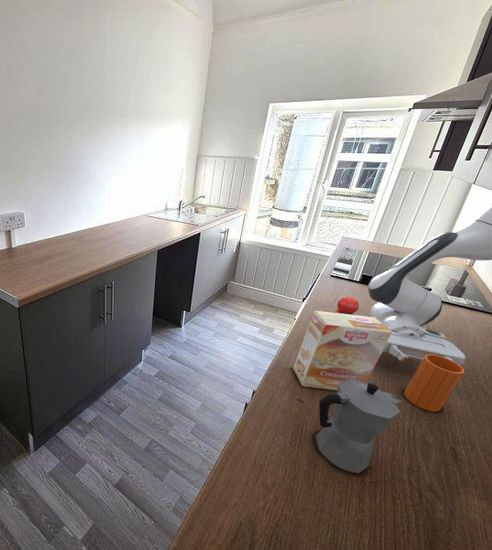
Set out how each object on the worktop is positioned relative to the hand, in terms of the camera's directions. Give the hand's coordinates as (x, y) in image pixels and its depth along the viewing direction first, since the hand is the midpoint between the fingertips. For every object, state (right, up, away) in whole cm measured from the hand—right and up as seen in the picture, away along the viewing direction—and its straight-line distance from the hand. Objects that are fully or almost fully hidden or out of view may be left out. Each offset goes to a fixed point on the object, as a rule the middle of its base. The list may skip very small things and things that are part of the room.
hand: (426, 364), depth 76 cm
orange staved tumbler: (-2, -9, -1) cm, 9 cm away
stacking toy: (-13, -1, +17) cm, 22 cm away
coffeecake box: (-24, -6, +4) cm, 25 cm away
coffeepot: (-35, -14, -15) cm, 40 cm away
